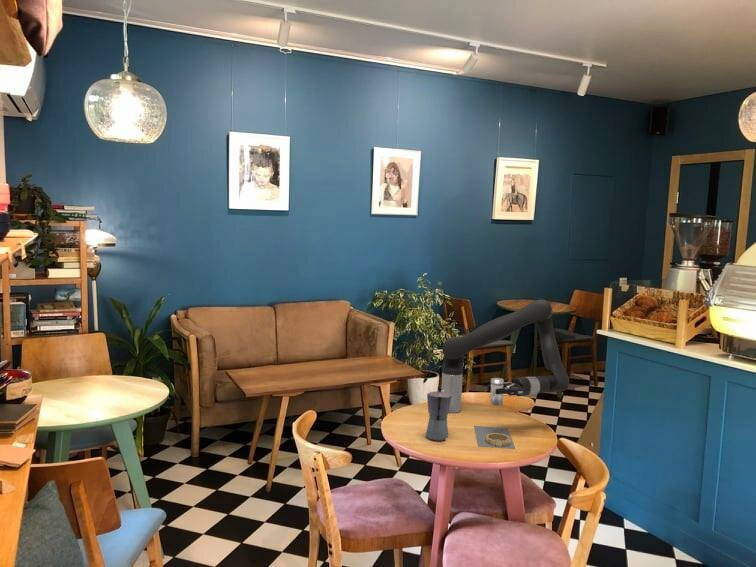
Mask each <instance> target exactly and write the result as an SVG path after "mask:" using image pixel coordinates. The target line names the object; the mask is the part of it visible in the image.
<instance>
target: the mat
mask: <svg viewBox="0 0 756 567" xmlns="http://www.w3.org/2000/svg"><path fill="white" fill-rule="evenodd" d="M473 429H474V433H475V439H476V444H477V447H478V448H492V449H503V450H504V449H505V450H506V449H507V450H508V449H509V450H516V446H515V444H514V440H513V438H512V436H511V432H510V430H509V427H503V426H502V427H500V426H486V425H485V426H483V425H473ZM489 433H501V434H505V435H507V436H509V437H510V438H511V444H510V445H509V446H506V447H496V446H492V445H489V444H487V443H486V442H485V435H487V434H489ZM493 440H499V441H503V440H500V439H493Z"/></svg>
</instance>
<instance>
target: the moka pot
mask: <svg viewBox="0 0 756 567" xmlns="http://www.w3.org/2000/svg"><path fill="white" fill-rule="evenodd" d="M441 390H442V388H441V387H439V386H438V388H437V390H436V391H429V392H427V393H426V397H427V398H426V399H427V407H428V408H427V409H428V414H429V415H428V417H429V418H428V422H427V427H426V432H425V438H426V439H429V440H433V441H446V440H447V438H449V430H448V429H449V428H448V427H449V426H448V414H449V413H450V412H449V408H450V402H451V397H452V396H451V395H450V394H448V393H445V392H441Z"/></svg>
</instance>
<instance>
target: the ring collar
mask: <svg viewBox="0 0 756 567" xmlns="http://www.w3.org/2000/svg"><path fill="white" fill-rule="evenodd" d="M511 438H512V437H511ZM511 438H510V437H509V436H507V435H505V434H501V433H489V434H487V435H485V442H486V443H487V444H489V445H492V446H496V447H506V446H509V445H510V444H511ZM493 439H500V440H503V441H499V440H493Z"/></svg>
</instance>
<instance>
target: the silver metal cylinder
mask: <svg viewBox="0 0 756 567" xmlns="http://www.w3.org/2000/svg"><path fill="white" fill-rule="evenodd" d="M504 382H505V380H504V378H502V377H492V378H490V385H491V391H490V393H489V394H490V396H489V398H490V399H489V400H490V401H489V404H490V405H492V406H498V407H499V406H503V405H504V394H498V395H497V394H495V390H496V389H498V388H503V386H504Z"/></svg>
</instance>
